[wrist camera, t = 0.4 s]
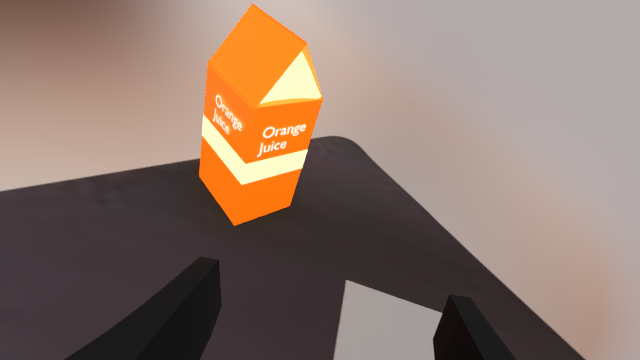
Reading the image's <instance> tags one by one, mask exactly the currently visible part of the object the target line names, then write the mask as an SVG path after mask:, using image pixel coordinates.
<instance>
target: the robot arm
mask: <svg viewBox="0 0 640 360" xmlns="http://www.w3.org/2000/svg"><path fill="white" fill-rule="evenodd" d="M221 306H222V305H221V288H220V271H219V260H217V259H210V258H204V257H199V258H198V259H197V260H195V261H194V262H193V263H192V264H191V265H190V266H188V267H187V268H186V269H185V270H184V271H183V272H181V273H180V274H179V275H178V276H177V277H176V278H174V279H173V280H172V281H171V282H170V283H168V284H167V285H166V286H165V287H164V288H162V289H161V290H160V291H159V292H158V293H156V294H155V295H154V296H153V297H151V298H150V299H149V300H148V301H146V302H145V303H144V304H143V305H141V306H140V307H139V308H138V309H136V310H135V311H134V312H132V313H131V314H130V315H128V316H127V317H126V318H124V319H123V320H121V321H120V322H119V323H117V324H116V325H115V326H113V327H112V328H111V329H109V330H108V331H106V332H105V333H104V334H102V335H101V336H99V337H98V338H96V339H95V340H93V341H92V342H90V343H89V344H87V345H86V346H84V347H83V348H81V349H80V350H78V351H77V352H75V353H74V354H72V355H71V356H69V357H67V358H66V359H64V360H199V359H200V357H201V355H202V353H203V351H204V349H205V347H206V345H207V343H208V341H209V339H210V336H211V334H212V331H213V328H214V326H215V323H216V320H217V317H218V314H219V312H220V309H221ZM433 348H434V358H435V360H516V358H515V357H514V356H513V355H512V353H511V352H510V351H509V350H508V348H507V347H506V346H505V344H504V343H503V342H502V340H501V339H500V338H499V336H498V335H497V334H496V332H495V331H494V330H493V328H492V327H491V326H490V324H489V323H488V321H487V320H486V319H485V317H484V316H483V315H482V313H481V312H480V311H479V309H478V308H477V307H476V305H475V304H474V303H473V301H472V300H471V299H470V298H468V297H462V296H455V295H449V297H448V300H447V303H446V305H445V308H444V311H443V313H442V316H441V319H440V321H439V324H438V326H437V329H436V332H435V334H434V337H433Z"/></svg>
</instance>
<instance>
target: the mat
mask: <svg viewBox="0 0 640 360" xmlns="http://www.w3.org/2000/svg"><path fill="white" fill-rule="evenodd" d="M441 316H442V313H440V312H437V311H434V310H431V309H429V308H426V307H423V306H420V305H417V304H414V303H411V302H408V301H405V300H403V299H400V298H397V297H394V296H391V295H388V294H385V293H382V292H379V291H377V290H374V289H371V288H368V287H365V286H362V285H359V284H356V283H354V282H351V281H348V280H346V282H345V288H344V294H343V300H342V306H341V313H340V319H339V325H338V331H337V337H336V343H335V349H334V355H333V360H435V358H434V348H433V337H434V334H435V332H436V329H437V326H438V324H439V321H440V319H441Z"/></svg>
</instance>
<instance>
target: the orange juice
mask: <svg viewBox="0 0 640 360" xmlns="http://www.w3.org/2000/svg"><path fill="white" fill-rule="evenodd" d="M322 100H323V98H322V95H321V92H320V88H319V84H318V81H317V77H316V74H315V70H314V67H313V63H312V60H311V56H310V53H309V49H308V46H307V43H306V42H305V41H304V40H302V39H301V38H300V37H298V36H297V35H295V34H294V33H293V32H291V31H290V30H288V29H287V28H286V27H284V26H283V25H282V24H280V23H279V22H277V21H276V20H275V19H273V18H272V17H270V16H269V15H268V14H266V13H265V12H263V11H262V10H261V9H259V8H258V7H257V6H255V5H254V4H252V5H251V6H250V8H249V9H248V10H247V12H246V13H245V14H244V16H243V17H242V18H241V20H240V21H239V22H238V23H237V25H236V26H235V27H234V29H233V30H232V32H231V33H230V34H229V36H228V37H227V38H226V40H225V41H224V42H223V43H222V45H221V46H220V48H219V49H218V50H217V52H216V53H215V54H214V55H213V57H212V58H211V59H210V60H208V67H207V81H206V93H205V107H204V115H203V126H202V147H201V159H200V172H199V177H200V178H201V179H202V181H203V182H204V184H205V185H206V186H207V188H208V189H209V191H210V192H211V193H212V195H213V196H214V198H215V199H216V200H217V202H218V203H219V205H220V206H221V207H222V209H223V210H224V212H225V213H226V214H227V216H228V217H229V219H230V220H231V221H232V223H233V224H234V226H235V225H237V224H240V223H243V222H246V221H249V220H251V219H254V218H257V217H260V216H263V215H265V214H268V213H271V212H274V211H277V210H279V209H282V208H285V207H288V206H290V203H291V200H292V197H293V194H294V191H295V187H296V184H297V181H298V178H299V174H300V171H301V168H302V166H303V163H304V160H305V157H306V154H307V150H308V145H309V142H310V139H311V136H312V132H313V129H314V126H315V123H316V119H317V116H318V113H319V110H320V106H321V103H322Z"/></svg>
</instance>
